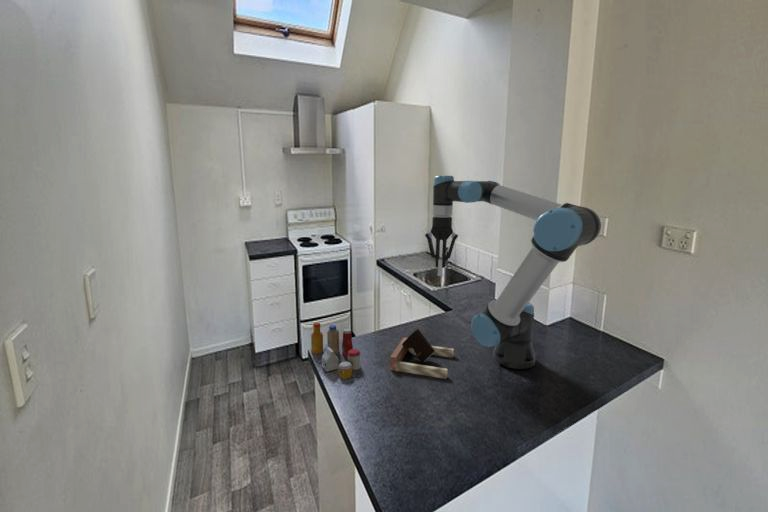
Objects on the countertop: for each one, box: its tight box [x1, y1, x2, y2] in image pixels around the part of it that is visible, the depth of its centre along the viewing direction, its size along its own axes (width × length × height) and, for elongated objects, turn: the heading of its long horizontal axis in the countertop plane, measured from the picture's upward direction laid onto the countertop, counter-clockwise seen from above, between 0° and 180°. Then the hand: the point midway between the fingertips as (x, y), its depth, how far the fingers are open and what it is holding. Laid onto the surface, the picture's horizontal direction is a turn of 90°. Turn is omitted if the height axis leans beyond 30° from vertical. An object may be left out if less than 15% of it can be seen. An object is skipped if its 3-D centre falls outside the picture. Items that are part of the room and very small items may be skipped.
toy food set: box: [310, 322, 361, 379], centre depth 138 cm, size 27×13×12 cm, turn 31°
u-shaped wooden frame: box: [389, 337, 455, 379], centre depth 137 cm, size 20×18×5 cm
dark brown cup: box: [402, 328, 435, 364], centre depth 139 cm, size 12×9×10 cm
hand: (440, 275), depth 148 cm, fingers closed
